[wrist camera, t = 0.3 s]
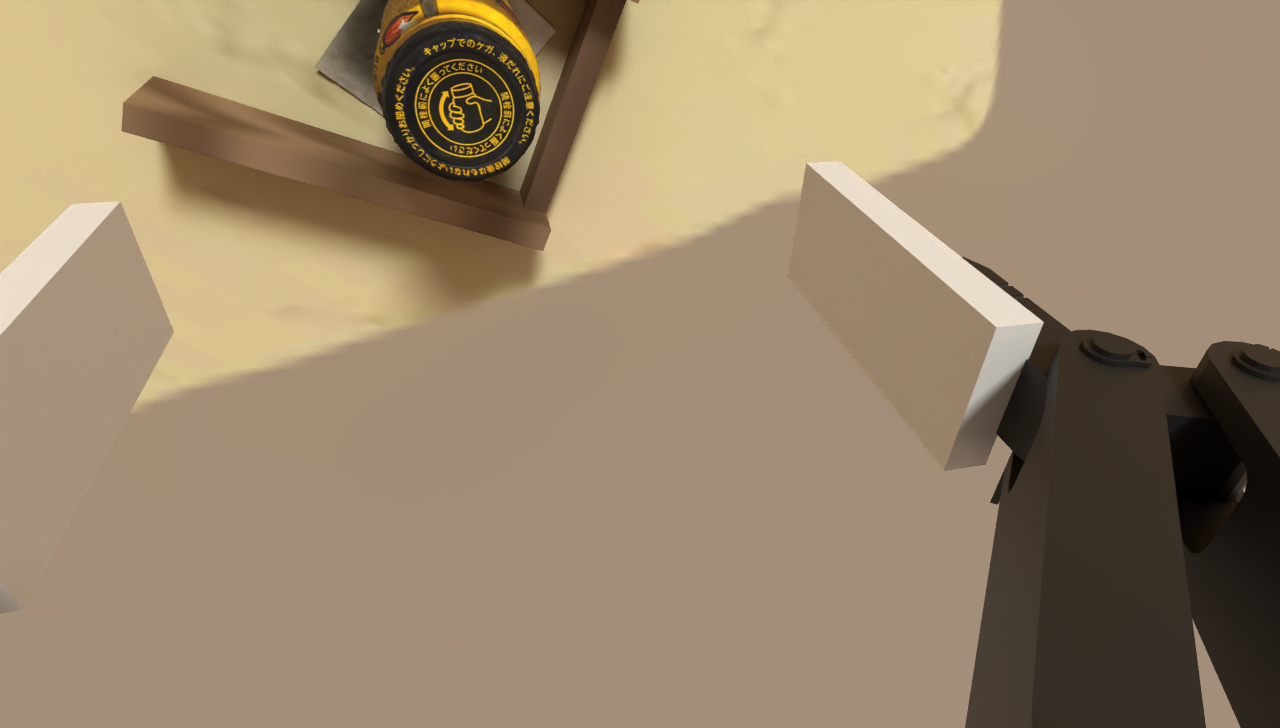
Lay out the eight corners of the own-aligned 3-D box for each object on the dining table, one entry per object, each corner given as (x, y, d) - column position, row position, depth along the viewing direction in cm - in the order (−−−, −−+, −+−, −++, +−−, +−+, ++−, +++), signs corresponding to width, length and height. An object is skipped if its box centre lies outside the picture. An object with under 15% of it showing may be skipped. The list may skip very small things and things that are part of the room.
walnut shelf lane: (151, 102, 32) (121, 130, 29) (182, -255, 26) (148, -268, 23) (533, 218, 40) (543, 250, 37) (628, -39, 33) (649, -26, 30)
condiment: (556, 29, 35) (604, 101, 25) (449, 163, 37) (457, 275, 28) (424, -94, 31) (424, -65, 21) (315, 65, 33) (270, 155, 24)
